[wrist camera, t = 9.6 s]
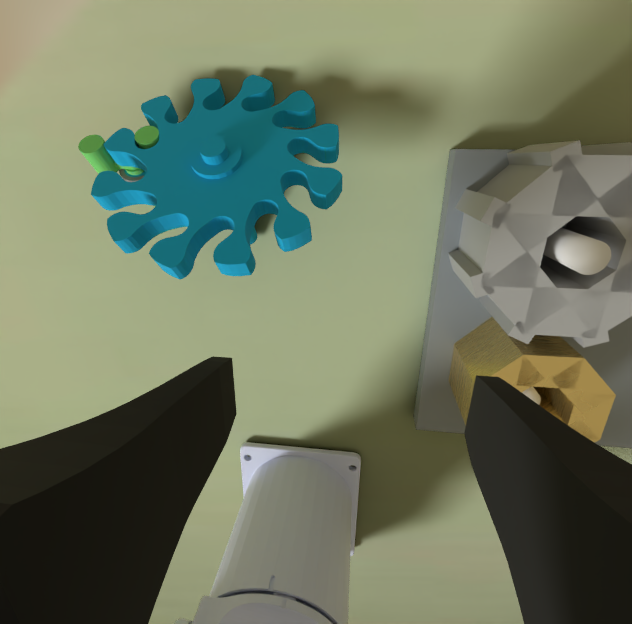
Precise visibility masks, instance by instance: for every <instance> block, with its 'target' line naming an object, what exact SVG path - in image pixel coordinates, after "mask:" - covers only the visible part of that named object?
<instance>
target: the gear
mask: <svg viewBox="0 0 632 624" xmlns="http://www.w3.org/2000/svg"><path fill="white" fill-rule="evenodd" d="M191 90H192V93H193V95H194V104H193V107H192V109H191V111H190V113H189V115H188V116H187V118H186V119H185V120H184V121H182V122H180V123H177V122H178V115H177V113H176V111H175V109H174V107H173V104H172V102H171V100H170V98H169V97H168V96H166V95H165V96H160V97H157V98H154V99H151V100H149V101H147V102H145V103H143V104H142V105H141V110H142V112H143V113H144V115H145V117H146V119H147V121H148V123H149V124H150V126H145V127H142V128H140V129H139V130H138V131H137V132H136V133H135V135H134V133H133V132H132V131H131V130H130V129H127V128H122V129H120V130H118V131H117V132H115V133H114V134H113V135H112V136H111V137H110V138H109V139H108V140H107V141H106V142H105V141H104V140H103V138H102V137H101V136H99V135H90V136H87V137H85V138H84V139H83V140H81V142H80V143H79V146H78V147H79V150H80V151H81V153H82V154H83V155H84V156H85V158H86V159H87V160H88V161H89V163H90V164H91V165H92V166H93V167H94V169H95V170H96V171H97V172H98V176H97V177H96V179H95V181H94V184H93V187H92V192H91V195H92V196H93V197H94V198H95V199H96V200H97V202H98V203H99V204H100V205H101V206H102V207H103V208H104V209H106V210H118V209H120V208H123V207H126V206H129V205H135V204H148V205H153V206H155V208H154V209H153V210H152V211H150V212H148V213H146V214H141V215H140V214H134V213H130V212H119V213H116V214H114V215H112V216H110V217H109V218H108V219H107V226H108V230H109V233H110V235H111V237H112V239H113V241H114V242H115V243H116V244H117V245H118V246H119V247H120V248H121V249H122V250H123V251H124V252H125V253H133V252H136V251H138V250H140V249H141V248H142V247H143V246H144V245H145V244H146V243H147V242H148V241H150V240H151V239H152V238H154V237H155V236H157V235H159V234H160V233H163V232H165V231H168V230H171V229H175V228H180V227H188V228H187V229H186V231H185V232H183V233H182V234H180V235H178V236H174V237H170V238H165V239H162V240H160V241H158V242H157V243H156V244H155V245H154V246H153V247H152V248H151V250H150V252H149V254H150V256H151V257H152V258H153V259H154V260H155V262H156V263H157V264H158V265H159V266H160V267H161V268H162V270H164V271H165V272H166V273H168V274H169V275H171V276H173V277H176V278H178V279H183V278H185V277H186V276H187V275H188V274H189V273H190V272H191V270H192V268H193V265H194V261H195V258H196V256H197V254H198V252H199V251H200V249H201V248H202V247H203V246H204V244H205V243H206V242H207V241H209V240H210V239H211V238H212V237H214V236H215V235H216V234H218V233H219V232H221V231H223V230H227V229H231V230H234V231H233V232H232V234H231V235H230V236H229V237H227V238H226V239H225V240H223V241H222V242H221V243H220V244H218V246H217V247H216V248H215V251H214V255H213V257H214V261H215V263H216V265H217V267H218V268H219V270H220V272H221V273H222V274H225V275H229V276H245V275H251V274H252V273H253V271H254V269H255V264H256V263H255V259H254V256H253V254H252V251H251V248H250V244H252V243H254V242H255V241H256V239H257V233H256V230H255V227H254V226H255V224H256V221H257V220H258V219H259V218H260V217H261V216H262V215H265V214H275V215H277V217H276V220H275V222H274V232H275V236H276V239H277V243H278V246H279V247H280V248H281V249H282V250H283V251H284V252H287V251H292V250H295V249H297V248H299V247H301V246H303V245H305V244H307V243H308V242H310V241H311V240H312V236H311V227H310V222H309V219H308V217H307V216H306V215H305V214H303V213H301V212H299V211H298V210H296V209H295V208H294V207H292V206H291V205H290V204H289V203H288V201H287V200H286V198H285V197H284V192H285V190H286V189H287V188H288V187H290V186H293V185H301V186H304V187H305V188H306V189H307V190H308V192H309V195H310V199H311V201H312V203H313V204H314V205H315V206H316V207H318V208H321V209H328V208H329V207H330V206H332V205H333V204H334V202H335V201H336V200H337V198H338V197H339V195H340V193H341V192H342V174H341V173H340V172H339V171H337V170H336V169H333V168H321V167H314V166H311V165H307V164H305V163H303V162H301V161H300V160H298V159H297V158H295V157H294V155H296V154H299V153H307V154H309V155H311V156H312V157H314V158H315V159H316V160H318V161H319V162H322V163H334V162H336V161H337V159H338V155H339V131H338V125H335V124H322V125H320V126H317V127H314V128H310V129H304V130H293V129H286V128H283V127H295V128H308V127H311V126H313V125H314V124H315V123H316V116H315V105H314V101H313V100H312V98H311V97H310V96H309V94H307V93H306V92H305V91H304V90H300V91H296V92H293V93H292V94H290V95H289V96H288V97H287V98H286V99H285V100H284V101H282V102H281V103H279V104H277V105H276V106H273V107H271V106H272V105H273V104H274V102H275V97H274V91H273V85H272V82H270V81H269V80H267V79H265V78H263V77H260V76H256V75H251V76H249V77H247V78H246V79H245V80H244V82H243V85H242V88H241V90H240V92H239V94H238V95H237V96H236V97H235V98H234V99H233V100H232V101H231V102H229V103H228V104H226V105H225V106H223V105H224V103H225V97H224V93H223V90H222V87H221V84H220V81H219V79H211V78H207V79H196V80H194V81H193V83H192V84H191ZM222 106H223V107H222ZM221 107H222V108H221ZM270 107H271V108H270ZM118 170H119V172H120V175H121V176H122V177H121V176H120V175H119V174H118V173H116V172H117V171H118ZM122 178H123V179H122Z"/></svg>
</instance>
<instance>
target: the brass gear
mask: <svg viewBox="0 0 632 624" xmlns="http://www.w3.org/2000/svg"><path fill="white" fill-rule="evenodd" d="M476 375H478V376H493V377H499V378H501V379H503V380H504V381H506V382H507V383H509V384H510V385H512V386H513V387H515V388H516V389H517V390H519V391H520V392H523V391H525V390H527V389H528V388H530V387H534V389H535V390H536V391H537V393H538V394H539V395H540V398H541V402H540V404H539V405H540V406H541V407H542V408H544V409H545V410H547V411H548V412H549V413H551V414H552V415H554V416H555V417H556V418H558V419H559V420H561V421H562V422H564V423H565V424H567V425H568V426H570V427H571V428H573V429H574V430H576V431H577V432H579V433H580V434H582V435H583V436H585V437H586V438H588V439H590V440H591V441H593V442H594V443H595V442H597V441H599V440H600V438H601V436H602V433H603V430H604V427H605V424H606V422H607V419H608V416H609V413H610V410H611V408H612V405H613V402H614V399H615V396H616V394H615V393H614V392H613V391H612V390H611V389H610V387H609V386H608V385H607V384H606V383H605V382H604V380H603V379H602V378H601V377H600V376H599V375H598V373H597V372H596V371H595V370H594V369H593V368H592V366H591V365H590V364H589V363H588V362H587V361H586V359H585V358H584V357H583V356H581V355H580V354H579V353H578V352H577V351H576V350H575V349H574V348H573V347H571V346H570V345H569V344H568V343H567V342H566V341H565V340H564V339H562V338H561V337H560V336H548V335H535V336H534V337H533V338H532V340H531V341H530V342H529V344H526V343H524V342H522V341H520V340H517V339H515V338H513V337H511V336H509V335H507V334H506V332H505V331H504V330H503V329H502V328H501V326H500V325H499V324H498V323H497V321H496V320H495V319H494V318H493V317H491V318H489V319H488V320H486V321H485V322H484V323H482V324H481V325H479V326H478V327H477V328H475V329H474V330H472V331H471V332H470V333H468V334H467V335H466V336H464V337H463V338H461V339H460V340H459V341H457V342H456V343H454V348H453V355H452V361H451V368H450V374H449V384H450V386H451V389H452V392H453V394H454V397H455V399H456V402H457V404H458V407H459V410H460V412H461V415H462V417H463V420H464V423H465V425H466V422H467V418H468V413H469V408H470V403H471V398H472V393H473V388H474V383H475V378H476Z"/></svg>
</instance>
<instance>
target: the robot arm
mask: <svg viewBox="0 0 632 624" xmlns="http://www.w3.org/2000/svg"><path fill="white" fill-rule="evenodd" d="M235 416H236V402H235V390H234V378H233V366H232V358H225V357H211V358H209V359H207V360H205V361H203V362H201V363H199V364H197V365H195V366H194V367H192V368H190V369H188V370H187V371H185V372H183V373H182V374H180V375H178V376H176V377H175V378H173V379H171V380H169V381H168V382H166V383H164V384H162V385H160V386H159V387H157V388H155V389H153V390H151V391H149V392H147V393H145V394H143V395H141V396H139V397H137V398H136V399H134V400H132V401H130V402H128V403H126V404H124V405H121V406H119V407H117V408H115V409H113V410H111V411H108V412H106V413H103V414H101V415H99V416H96V417H94V418H92V419H89V420H87V421H84V422H82V423H79V424H76V425H73V426H70V427H67V428H65V429H62V430H59V431H56V432H53V433H51V434H48V435H45V436H42V437H39V438H36V439H32V440H29V441H26V442H23V443H19V444H16V445H12V446H9V447H5V448H2V449H0V624H148V622H149V619H150V617H151V614H152V611H153V608H154V605H155V602H156V599H157V597H158V594H159V591H160V589H161V586H162V583H163V581H164V578H165V575H166V572H167V570H168V567H169V564H170V562H171V559H172V557H173V554H174V551H175V549H176V546H177V544H178V541H179V539H180V536H181V534H182V531H183V529H184V526H185V524H186V522H187V519H188V517H189V515H190V513H191V511H192V509H193V507H194V505H195V503H196V501H197V499H198V497H199V495H200V493H201V491H202V489H203V487H204V485H205V483H206V481H207V479H208V477H209V476H210V474H211V472H212V470H213V468H214V466H215V464H216V462H217V460H218V458H219V456H220V454H221V452H222V450H223V448H224V446H225V444H226V442H227V439H228V436H229V434H230V431H231V428H232V425H233V422H234V419H235ZM464 434H465V439H466V443H467V448H468V452H469V456H470V460H471V464H472V467H473V470H474V473H475V476H476V478H477V481H478V484H479V486H480V489H481V492H482V494H483V497H484V499H485V502H486V505H487V507H488V510H489V512H490V515H491V518H492V520H493V523H494V525H495V528H496V531H497V533H498V536H499V538H500V541H501V544H502V547H503V550H504V553H505V556H506V558H507V561H508V565H509V568H510V572H511V576H512V579H513V583H514V586H515V590H516V594H517V597H518V601H519V605H520V608H521V612H522V616H523V620H524V624H632V465H631V464H630V463H628V462H626V461H624V460H623V459H621V458H619V457H617V456H615V455H614V454H612V453H610V452H609V451H607V450H605V449H604V448H602V447H601V446H599V445H597V444H596V443H594V442H593V441H591V440H590V439H588V438H586V437H585V436H583V435H582V434H580V433H579V432H577V431H576V430H574V429H573V428H571V427H570V426H568V425H567V424H565V423H564V422H562V421H561V420H559V419H558V418H556V417H555V416H554V415H552V414H551V413H549V412H548V411H547V410H545V409H544V408H542V407H541V406H540V405H538V404H537V403H535V402H534V401H533V400H531V399H530V398H529V397H527V396H526V395H524V394H523V393H522V392H520V391H519V390H517V389H516V388H515V387H513V386H512V385H510V384H509V383H507V382H506V381H504V380H503V379H501V378H499V377H493V376H478V375H476V378H475V383H474V388H473V393H472V398H471V403H470V408H469V413H468V418H467V422H466V427H465V432H464ZM247 455H250V456H251V457H249V456H247ZM240 456H241V469H242V481H243V493H244V499H243V502H242V505H241V507H240V510H239V513H238V516H237V519H236V521H235V524H234V527H233V530H232V533H231V536H230V538H229V541H228V544H227V547H226V550H225V553H224V555H223V558H222V561H221V564H220V567H219V569H218V572H217V575H216V578H215V581H214V584H213V586H212V589H211V592H210V595H209V596H202V598H201V601H200V604H199V606H198V609H197V612H196V615H195V617H194V620H193V623H192V621H191V620H187V619H184V618H179V619H178V620H177V621H175V623H174V624H348V607H349V577H350V556H352V555H353V554H354V547H355V534H356V520H357V507H358V494H359V481H360V468H361V457H360V455H359V454H357V453H354V452H344V451H334V450H323V449H313V448H302V447H292V446H281V445H271V444H260V443H250V442H246V443H243V444H242V446H241V448H240ZM351 465H354V466H355V467H351Z"/></svg>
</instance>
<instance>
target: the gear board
mask: <svg viewBox="0 0 632 624" xmlns="http://www.w3.org/2000/svg"><path fill="white" fill-rule="evenodd" d="M491 317H493V318H494V319H495V320H496V321H497V323H498V324H499V325H500V326H501V328H502V329H503V330H504V331H505V332H506V334H507V335H509V336H511V337H513V338H515V339H517V340H520V341H522V342H524V343H526V344H529V342H530V341H531V340H532V338H533V337H534V336H535V335H548V336H560V337H561V338H562V339H564V340H565V341H566V342H567V343H568V344H569V345H570V346H571V347H573V348H574V349H575V350H576V351H577V352H578V353H579V354H580V355H581V356H583V357H584V358H585V359H586V361H587V362H588V363H589V364H590V365H591V366H592V368H593V369H594V370H595V371H596V372H597V373H598V375H599V376H600V377H601V378H602V379H603V380H604V382H605V383H606V384H607V385H608V386H609V387H610V389H611V390H612V391H613V392H614V393H615V394H616V396H615V399H614V402H613V405H612V408H611V410H610V413H609V416H608V419H607V422H606V424H605V427H604V430H603V433H602V436H601V438H600V440H599V441H597V442H595V443H596V444H597V445H600V446H611V447H622V448H632V142H625V143H611V144H596V145H582V146H581V143H580V140H577V141H566V142H556V143H545V144H535V145H528V146H525V147H523V148H520V149H518V150H505V149H452V150H450V153H449V161H448V168H447V175H446V183H445V190H444V197H443V205H442V212H441V219H440V226H439V234H438V241H437V248H436V256H435V263H434V270H433V278H432V285H431V292H430V300H429V307H428V314H427V322H426V329H425V336H424V343H423V351H422V358H421V365H420V373H419V380H418V387H417V395H416V402H415V409H414V422H415V427H416V430H427V431H439V432H450V433H462V434H464V432H465V427H466V425H465V423H464V420H463V417H462V415H461V412H460V410H459V407H458V404H457V402H456V399H455V397H454V394H453V392H452V389H451V386H450V384H449V374H450V368H451V361H452V355H453V348H454V343H456V342H457V341H459V340H460V339H461V338H463V337H464V336H466V335H467V334H468V333H470V332H471V331H472V330H474V329H475V328H477V327H478V326H479V325H481V324H482V323H484V322H485V321H486V320H488V319H489V318H491ZM522 393H523V394H524V395H526V396H527V397H529V398H530V399H531V400H533V401H534V402H535V403H537V404H538V405H539V404H540V402H541V398H540V395H539V394H538V393H537V391H536V390H535V389H534V387H530V388H528V389H527V390H525V391H523V392H522Z"/></svg>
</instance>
